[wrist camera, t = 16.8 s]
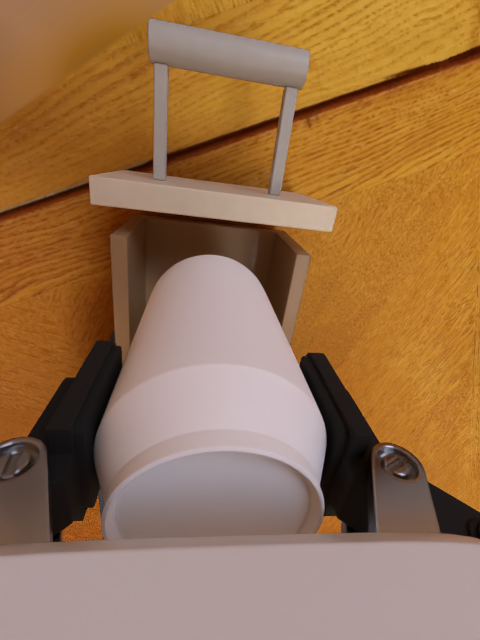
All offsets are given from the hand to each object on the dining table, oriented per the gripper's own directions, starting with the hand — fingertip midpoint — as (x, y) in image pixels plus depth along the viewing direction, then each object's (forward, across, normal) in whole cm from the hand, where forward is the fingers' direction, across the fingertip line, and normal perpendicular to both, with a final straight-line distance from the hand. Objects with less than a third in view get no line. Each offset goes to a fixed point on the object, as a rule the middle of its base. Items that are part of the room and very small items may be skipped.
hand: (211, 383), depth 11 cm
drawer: (+13, 0, -2) cm, 13 cm away
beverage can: (+7, 0, 0) cm, 7 cm away
